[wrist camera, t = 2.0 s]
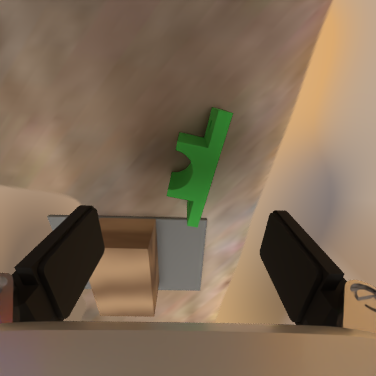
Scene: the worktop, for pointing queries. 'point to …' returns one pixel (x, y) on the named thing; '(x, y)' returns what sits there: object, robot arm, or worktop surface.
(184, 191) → the green notched block
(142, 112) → the worktop surface
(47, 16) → the worktop surface
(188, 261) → the mat
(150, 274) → the base brick
